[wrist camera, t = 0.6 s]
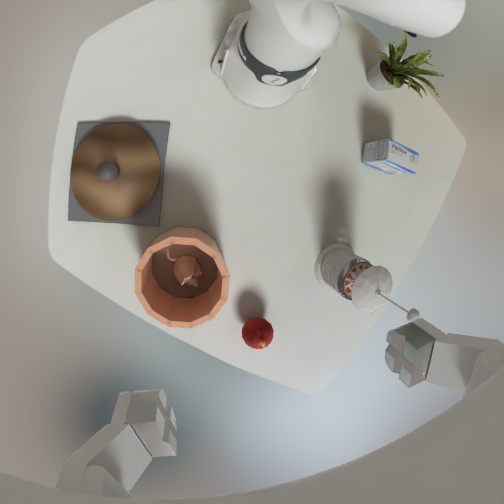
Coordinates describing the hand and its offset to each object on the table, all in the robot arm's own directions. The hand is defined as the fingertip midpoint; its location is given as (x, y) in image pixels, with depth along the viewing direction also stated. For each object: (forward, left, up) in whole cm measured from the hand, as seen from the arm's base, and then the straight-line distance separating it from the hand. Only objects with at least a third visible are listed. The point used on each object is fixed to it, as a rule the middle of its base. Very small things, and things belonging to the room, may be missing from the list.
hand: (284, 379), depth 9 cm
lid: (-8, -19, -42) cm, 46 cm away
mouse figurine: (+8, -5, -42) cm, 43 cm away
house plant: (-34, +30, -42) cm, 62 cm away
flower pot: (+8, -5, -42) cm, 43 cm away
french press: (+7, +25, -42) cm, 50 cm away
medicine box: (-17, +31, -42) cm, 55 cm away
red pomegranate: (+19, +9, -42) cm, 47 cm away
